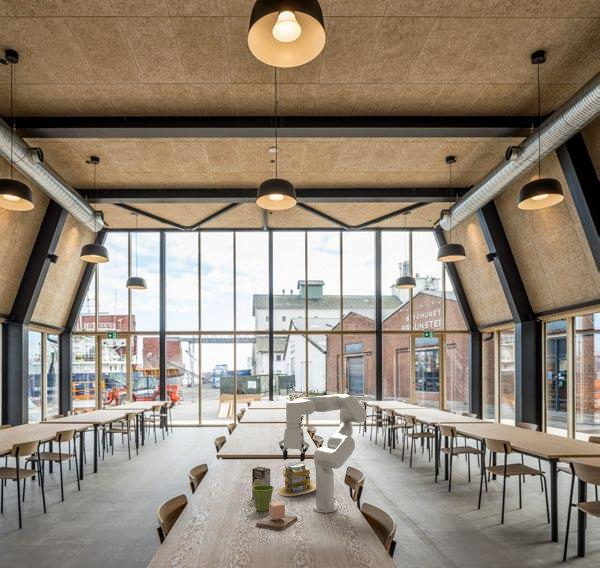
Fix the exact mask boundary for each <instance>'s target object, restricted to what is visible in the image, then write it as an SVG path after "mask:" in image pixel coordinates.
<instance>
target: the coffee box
mask: <svg viewBox="0 0 600 568" xmlns="http://www.w3.org/2000/svg"><path fill="white" fill-rule="evenodd" d="M251 470H252V472H251V474H252V476H251V477H252V479H251V481H252V482H251V484H252V486H251V490H252V491H251V492H252V493H251V495H252V496H251V498H253V499H255V498H254V493H253V489H252V487H254V486H257V485H271V468H270V467H269V468H268V467H263V466H257V467H254V468H252V469H251Z"/></svg>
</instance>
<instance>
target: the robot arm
mask: <svg viewBox="0 0 600 568" xmlns="http://www.w3.org/2000/svg"><path fill="white" fill-rule="evenodd" d="M285 406H286V407H285V409H286V411H285V413H286V414H285V419H286V420H285V421H286V423H285V428H284V429H285V430H284V433H283V434H284V435H283V439H282V440H280V441H279V442H278V446H279V449H281V452H282V458H283V460H284V461H285V460H288V449H290V450H299V451H300V454H299V455H300V456H299V457H300V461H301V462H304V461H305V460H306V452H307V451H309V447H310V444H309V443H308V442H306V441H305V433H304V429H303V428H302V427H304V424H303V423H302V415H306V416H307V415H308V416H309V415H311V414H313V413H314V412H319V413H326V412H331V411H338V410H340V411H339V425H338V427H337V428H336V430H335V431H334V432H333V433H332V435H331V436H329V438H328V440H327V443H326V446H327V447H324V446H321V447H318V448H317V449H315V451H314V452H313V453H314V454H313V462H314V467H315V468H314V469H315V483H316V489H315V500H316V502H315V505H313V507H312V508H313V511H315V512H317V513H323V514H325V513H327V514H331V513H334V512H336V511H337V510H338V506H337V505H336V504H335V501H336V500H337V498H336V497H335V485H334V484H335V477H334V476H335V475H334V474H335V473H334V470H335V469H336V470H338V469H340V468H342V466H344V464H345V463H346V462H347V461H348V459H349V458H350V457H351V456H352V454H353V452H354V450H355V448H356V442H355V439H354V437H352V436H353V433H354V431H353V423H357V424H362V423H364V422H365V421H366V420H367V417H368V416H367V415H368V414H367V411H366V409H365V408H364V406H363V405H362V404H361V403H360V402H359V401H358V400H357V399H356V397H354V396H353V395H351V394H344V393H337V394H335V393H334V394H329V395H317V396H308V397H307V396H306V397H300V398H295V399H293V400H288V401H287V402H286V405H285ZM333 469H334V470H333Z"/></svg>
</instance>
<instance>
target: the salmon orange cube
mask: <svg viewBox="0 0 600 568" xmlns="http://www.w3.org/2000/svg"><path fill="white" fill-rule="evenodd" d="M285 515H286V504H284V503H283V502H282V501H280V500H279V501H273V502H272V501H271V503H269V510H268V516H270V517H271V518H272V519H279V518H285Z"/></svg>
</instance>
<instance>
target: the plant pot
mask: <svg viewBox="0 0 600 568" xmlns="http://www.w3.org/2000/svg"><path fill="white" fill-rule="evenodd" d="M252 489H253V493H254V498H253V499H254V503H255V509H256V510H255V511H259V512H266V511H269V503H272V497H273V496H272V495H273V492H274V489H275V486H273V485H272V484H270V485H257V486H254V487H252V486H251V490H252Z"/></svg>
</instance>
